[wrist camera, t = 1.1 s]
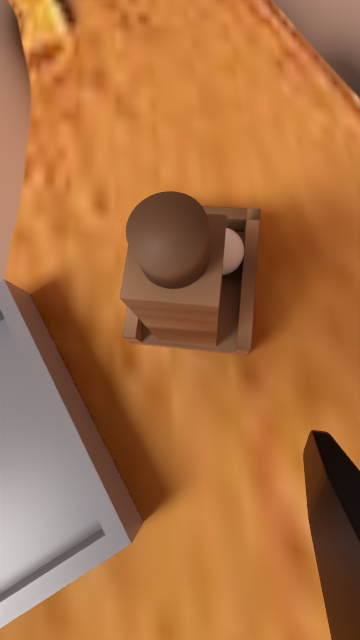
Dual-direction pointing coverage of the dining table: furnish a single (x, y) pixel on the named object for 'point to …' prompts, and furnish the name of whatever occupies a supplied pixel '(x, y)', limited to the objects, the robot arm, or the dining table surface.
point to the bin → (50, 469)
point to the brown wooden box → (188, 275)
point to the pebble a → (232, 252)
